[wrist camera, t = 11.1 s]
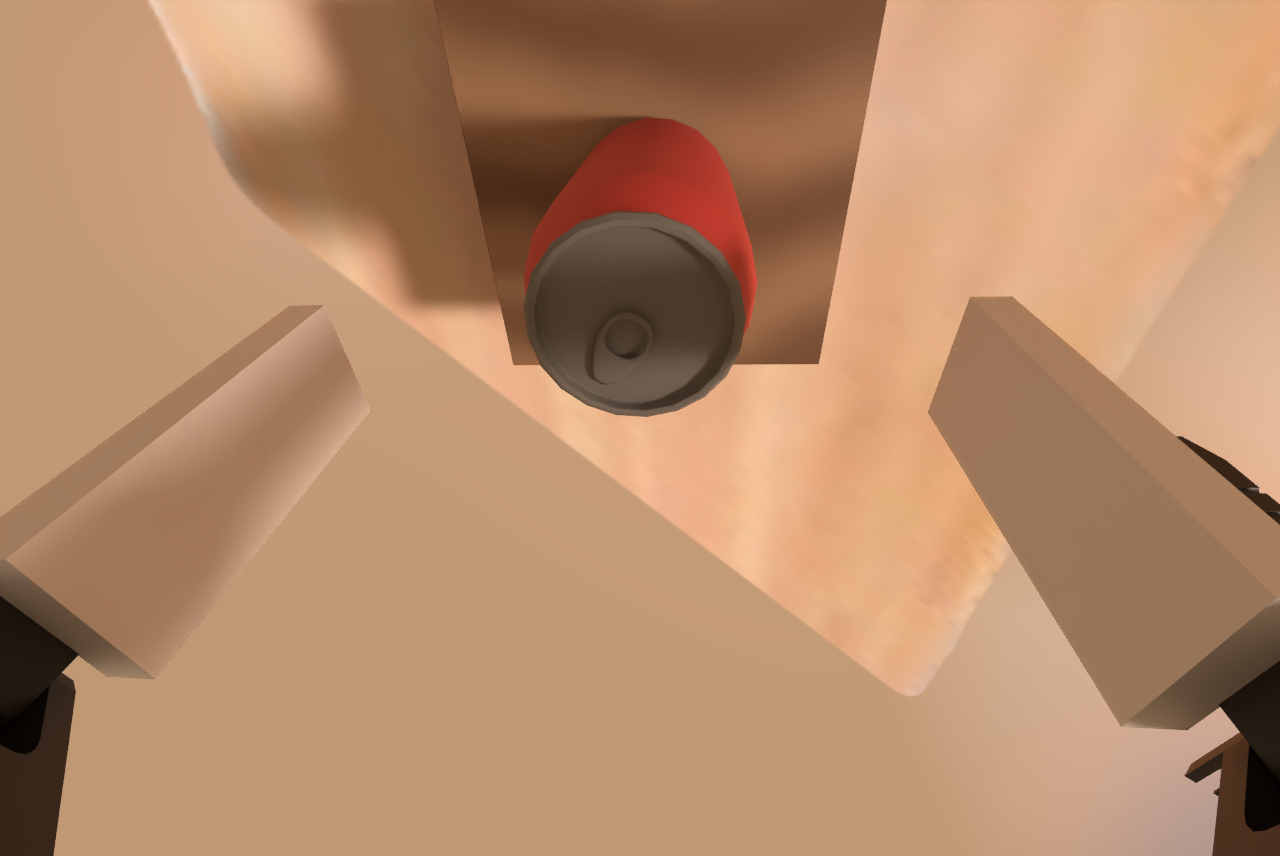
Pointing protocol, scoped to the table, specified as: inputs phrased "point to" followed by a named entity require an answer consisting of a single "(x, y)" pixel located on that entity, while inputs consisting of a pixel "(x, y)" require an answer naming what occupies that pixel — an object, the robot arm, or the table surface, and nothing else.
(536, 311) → the beer can
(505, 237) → the peg shelf
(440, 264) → the table surface
